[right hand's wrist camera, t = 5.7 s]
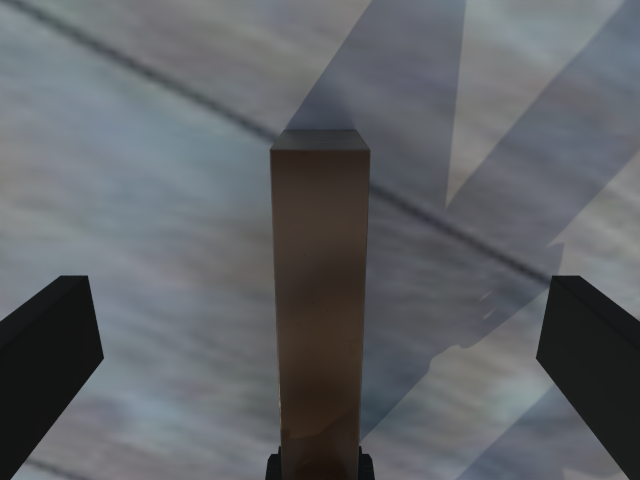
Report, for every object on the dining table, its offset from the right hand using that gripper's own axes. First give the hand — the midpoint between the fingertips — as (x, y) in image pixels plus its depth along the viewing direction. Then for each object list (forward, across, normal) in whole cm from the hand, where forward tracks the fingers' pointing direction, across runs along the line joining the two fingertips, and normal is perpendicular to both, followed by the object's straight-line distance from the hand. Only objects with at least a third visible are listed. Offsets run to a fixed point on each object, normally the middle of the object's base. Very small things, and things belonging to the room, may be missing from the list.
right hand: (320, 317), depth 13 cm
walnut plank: (+17, 0, -10) cm, 19 cm away
